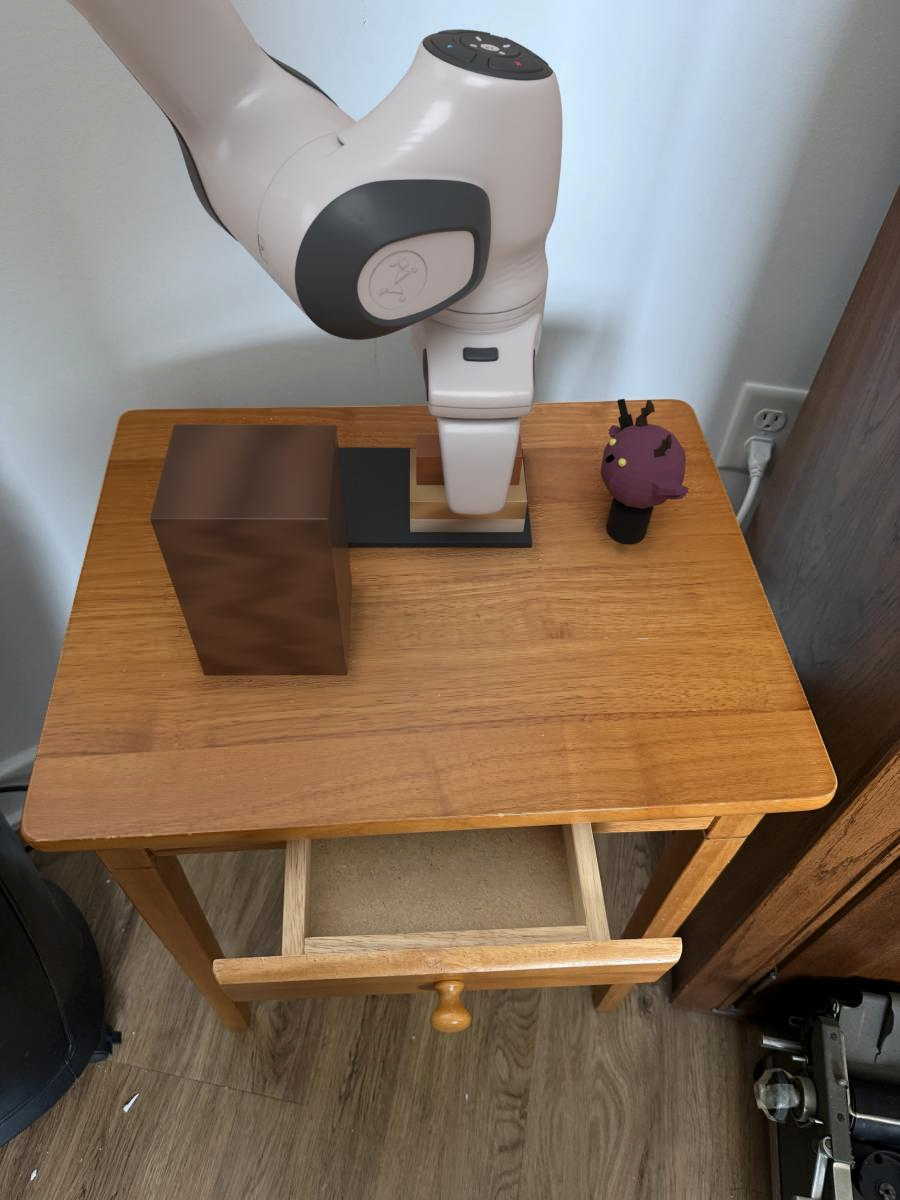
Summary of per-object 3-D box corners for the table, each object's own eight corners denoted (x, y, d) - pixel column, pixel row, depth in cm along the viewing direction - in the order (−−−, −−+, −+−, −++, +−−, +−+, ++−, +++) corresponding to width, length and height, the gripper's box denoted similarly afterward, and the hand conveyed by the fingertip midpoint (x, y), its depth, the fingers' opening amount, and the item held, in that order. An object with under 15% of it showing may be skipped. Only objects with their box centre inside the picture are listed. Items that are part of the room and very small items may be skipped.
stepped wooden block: (410, 532, 70) (409, 472, 65) (410, 479, 74) (409, 418, 69) (523, 532, 71) (531, 473, 66) (517, 479, 74) (525, 419, 69)
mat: (278, 547, 70) (277, 542, 69) (290, 451, 77) (290, 446, 76) (531, 547, 71) (532, 542, 70) (521, 453, 77) (522, 447, 77)
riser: (203, 675, 62) (149, 518, 50) (219, 587, 67) (173, 423, 55) (346, 675, 63) (328, 519, 50) (352, 587, 68) (336, 424, 55)
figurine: (600, 482, 75) (626, 365, 66) (691, 515, 73) (730, 399, 64) (563, 543, 71) (584, 428, 62) (658, 581, 69) (695, 467, 59)
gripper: (427, 229, 65) (426, 383, 76) (428, 414, 52) (428, 567, 63) (513, 230, 65) (501, 383, 76) (536, 414, 52) (517, 567, 63)
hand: (468, 468), depth 69 cm, fingers closed on stepped wooden block, 2 cm apart
